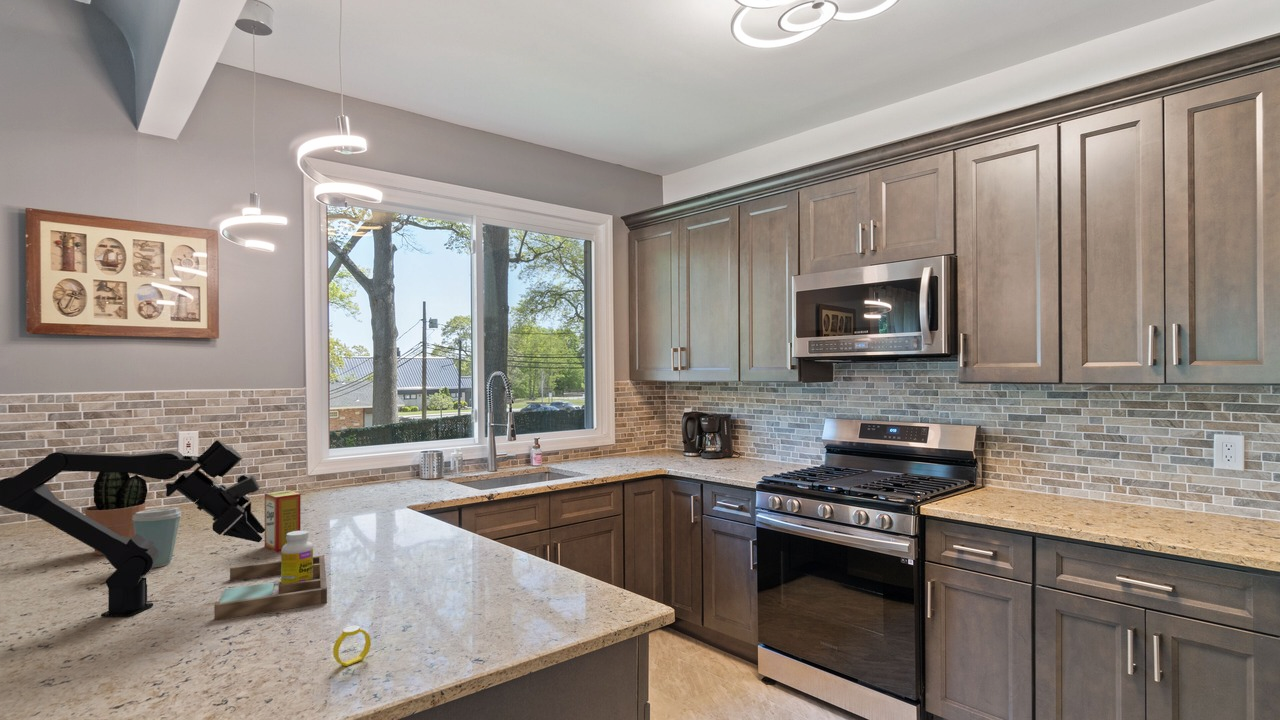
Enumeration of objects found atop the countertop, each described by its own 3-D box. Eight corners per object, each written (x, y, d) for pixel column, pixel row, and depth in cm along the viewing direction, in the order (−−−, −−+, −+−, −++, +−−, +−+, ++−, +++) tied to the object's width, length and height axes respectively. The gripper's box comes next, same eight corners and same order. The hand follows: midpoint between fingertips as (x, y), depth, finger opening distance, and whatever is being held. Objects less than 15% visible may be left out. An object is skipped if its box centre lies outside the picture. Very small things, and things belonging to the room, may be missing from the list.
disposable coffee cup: (123, 567, 169) (123, 510, 169) (168, 557, 178) (169, 503, 179) (144, 573, 164) (144, 514, 164) (190, 562, 173) (190, 506, 174)
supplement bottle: (299, 592, 148) (299, 536, 148) (274, 591, 149) (274, 535, 149) (319, 583, 154) (319, 529, 154) (295, 582, 155) (295, 528, 156)
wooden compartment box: (213, 620, 131) (213, 605, 131) (229, 579, 158) (229, 567, 158) (326, 602, 141) (326, 588, 141) (324, 566, 168) (324, 555, 168)
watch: (365, 654, 114) (365, 621, 114) (373, 659, 112) (373, 624, 113) (331, 666, 110) (331, 631, 110) (338, 671, 108) (338, 635, 108)
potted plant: (91, 560, 176) (92, 469, 176) (78, 552, 184) (79, 465, 185) (152, 549, 187) (152, 463, 187) (137, 542, 195) (137, 460, 196)
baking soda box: (300, 547, 187) (300, 492, 187) (276, 552, 182) (276, 495, 183) (288, 542, 193) (288, 489, 194) (264, 546, 189) (264, 492, 189)
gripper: (230, 470, 138) (289, 516, 143) (239, 460, 155) (291, 501, 160) (186, 511, 134) (247, 556, 139) (199, 496, 151) (254, 537, 156)
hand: (262, 536), depth 149 cm, fingers open, 9 cm apart
